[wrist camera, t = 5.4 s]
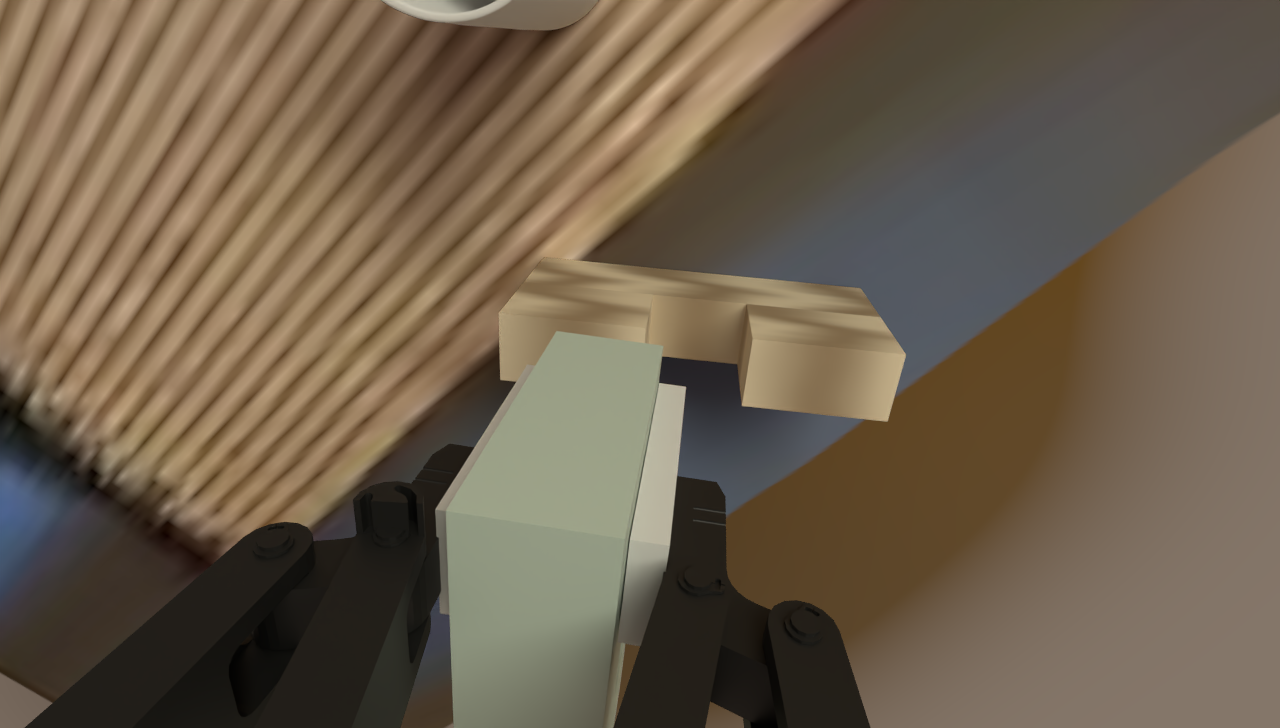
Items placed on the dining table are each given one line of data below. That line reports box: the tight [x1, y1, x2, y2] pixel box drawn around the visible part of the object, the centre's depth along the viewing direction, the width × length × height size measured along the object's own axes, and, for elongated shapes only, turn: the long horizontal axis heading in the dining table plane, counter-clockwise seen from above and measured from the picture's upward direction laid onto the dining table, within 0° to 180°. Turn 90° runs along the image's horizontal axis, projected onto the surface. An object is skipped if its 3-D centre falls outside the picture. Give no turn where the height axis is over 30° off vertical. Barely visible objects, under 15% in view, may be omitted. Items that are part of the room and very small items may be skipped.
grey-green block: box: [446, 331, 663, 728], centre depth 17 cm, size 3×14×8 cm, turn 174°
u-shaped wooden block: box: [499, 257, 906, 421], centre depth 29 cm, size 16×3×8 cm, turn 86°
